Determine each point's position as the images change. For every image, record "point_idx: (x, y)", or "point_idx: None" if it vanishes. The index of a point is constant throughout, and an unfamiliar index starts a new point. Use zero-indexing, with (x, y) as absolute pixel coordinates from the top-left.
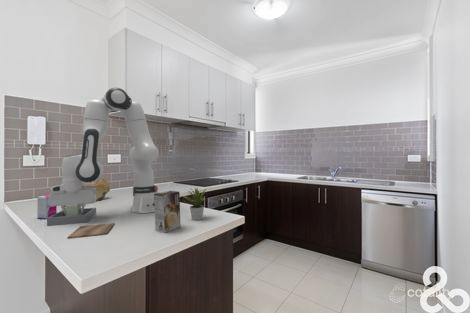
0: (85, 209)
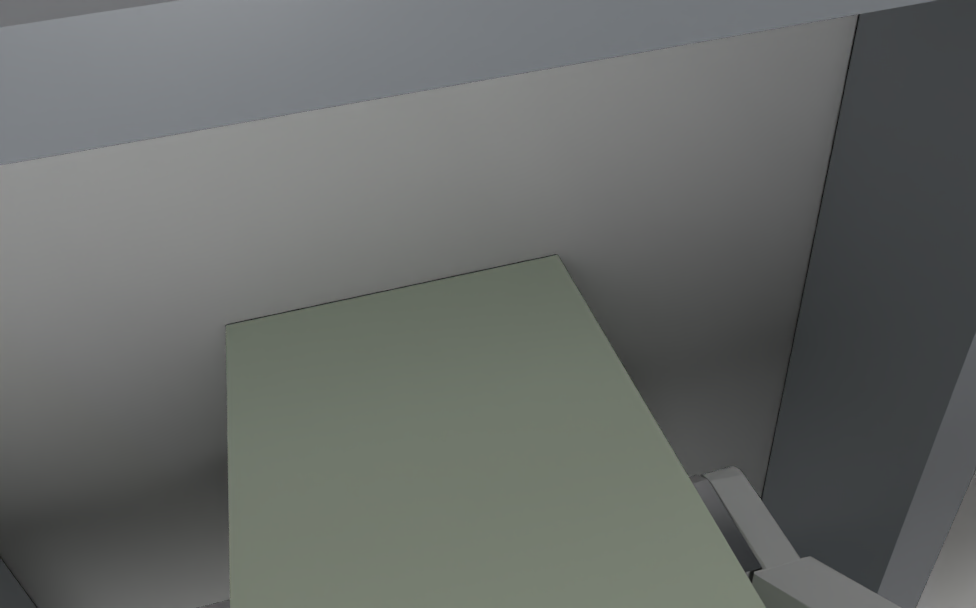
0: (725, 18)
